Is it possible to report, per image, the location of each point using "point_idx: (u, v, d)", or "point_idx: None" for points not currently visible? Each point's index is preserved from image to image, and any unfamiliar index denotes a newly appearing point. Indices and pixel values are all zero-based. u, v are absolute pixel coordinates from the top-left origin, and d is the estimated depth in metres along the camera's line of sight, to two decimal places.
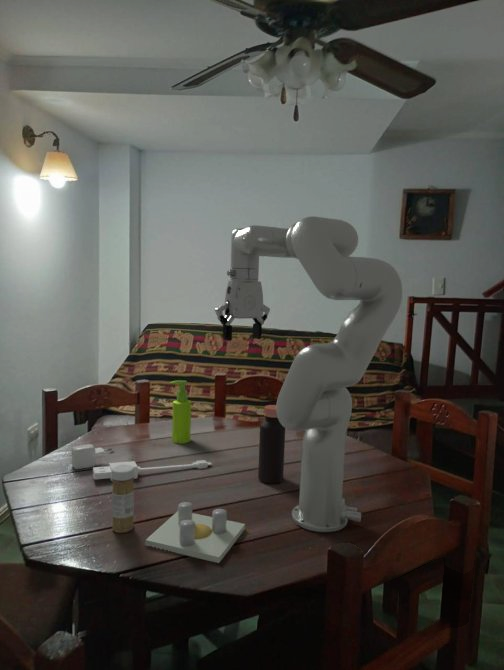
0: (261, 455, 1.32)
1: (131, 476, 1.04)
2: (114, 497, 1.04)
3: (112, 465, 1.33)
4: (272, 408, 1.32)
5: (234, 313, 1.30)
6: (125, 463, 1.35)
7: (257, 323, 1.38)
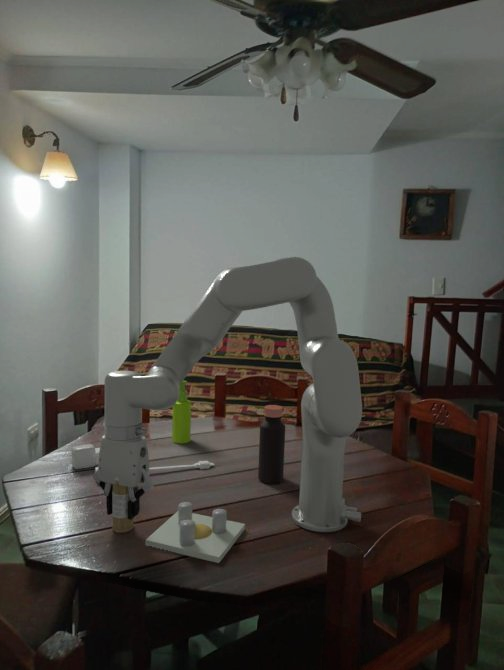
0: (261, 455, 1.32)
1: None
2: (114, 497, 1.04)
3: None
4: (272, 408, 1.32)
5: None
6: None
7: None
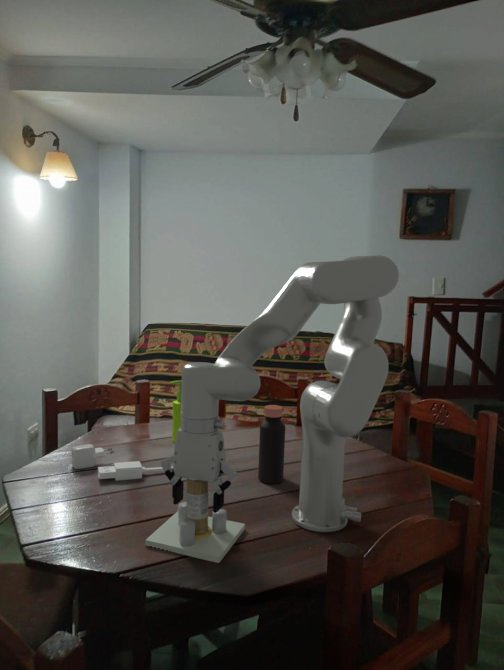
0: (261, 455, 1.32)
1: None
2: (190, 498, 1.02)
3: (116, 465, 1.33)
4: (272, 408, 1.32)
5: None
6: (129, 463, 1.35)
7: (180, 482, 1.05)
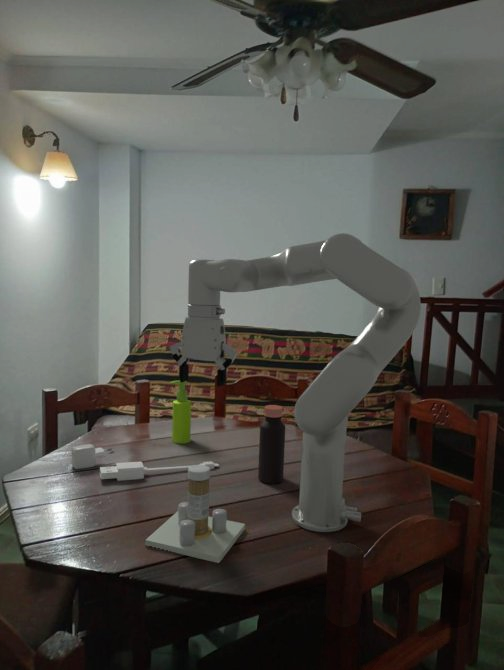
0: (261, 455, 1.32)
1: (208, 476, 1.02)
2: (191, 498, 1.02)
3: (118, 465, 1.33)
4: (272, 408, 1.32)
5: None
6: (131, 463, 1.35)
7: (185, 364, 1.22)
